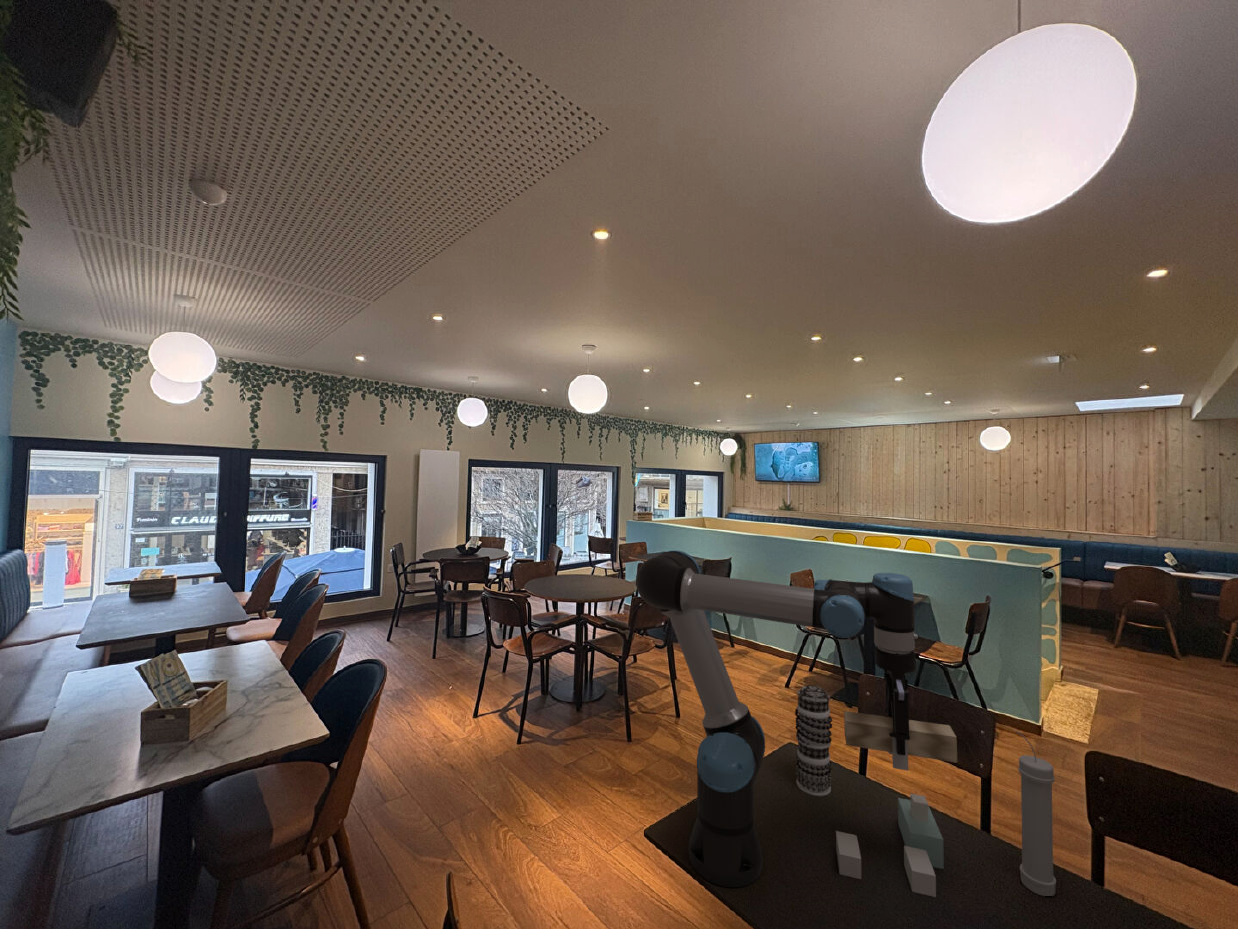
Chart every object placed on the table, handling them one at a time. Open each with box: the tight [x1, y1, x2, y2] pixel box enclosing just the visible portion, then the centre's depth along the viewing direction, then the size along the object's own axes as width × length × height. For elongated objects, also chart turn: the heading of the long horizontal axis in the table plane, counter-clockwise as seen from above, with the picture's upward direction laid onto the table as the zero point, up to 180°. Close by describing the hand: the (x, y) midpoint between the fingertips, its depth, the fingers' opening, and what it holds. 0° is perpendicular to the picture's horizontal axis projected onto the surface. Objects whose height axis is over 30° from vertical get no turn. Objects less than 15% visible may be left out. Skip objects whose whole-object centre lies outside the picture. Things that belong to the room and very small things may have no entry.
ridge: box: [897, 793, 945, 870], centre depth 109 cm, size 6×12×10 cm, turn 161°
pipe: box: [1015, 730, 1057, 897], centre depth 99 cm, size 6×6×30 cm
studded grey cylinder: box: [794, 684, 833, 797], centre depth 130 cm, size 9×9×25 cm
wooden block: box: [843, 710, 958, 763], centre depth 104 cm, size 20×5×5 cm, turn 70°
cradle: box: [835, 830, 937, 898], centre depth 101 cm, size 17×7×4 cm, turn 71°
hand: (898, 760), depth 104 cm, fingers closed on wooden block, 5 cm apart
